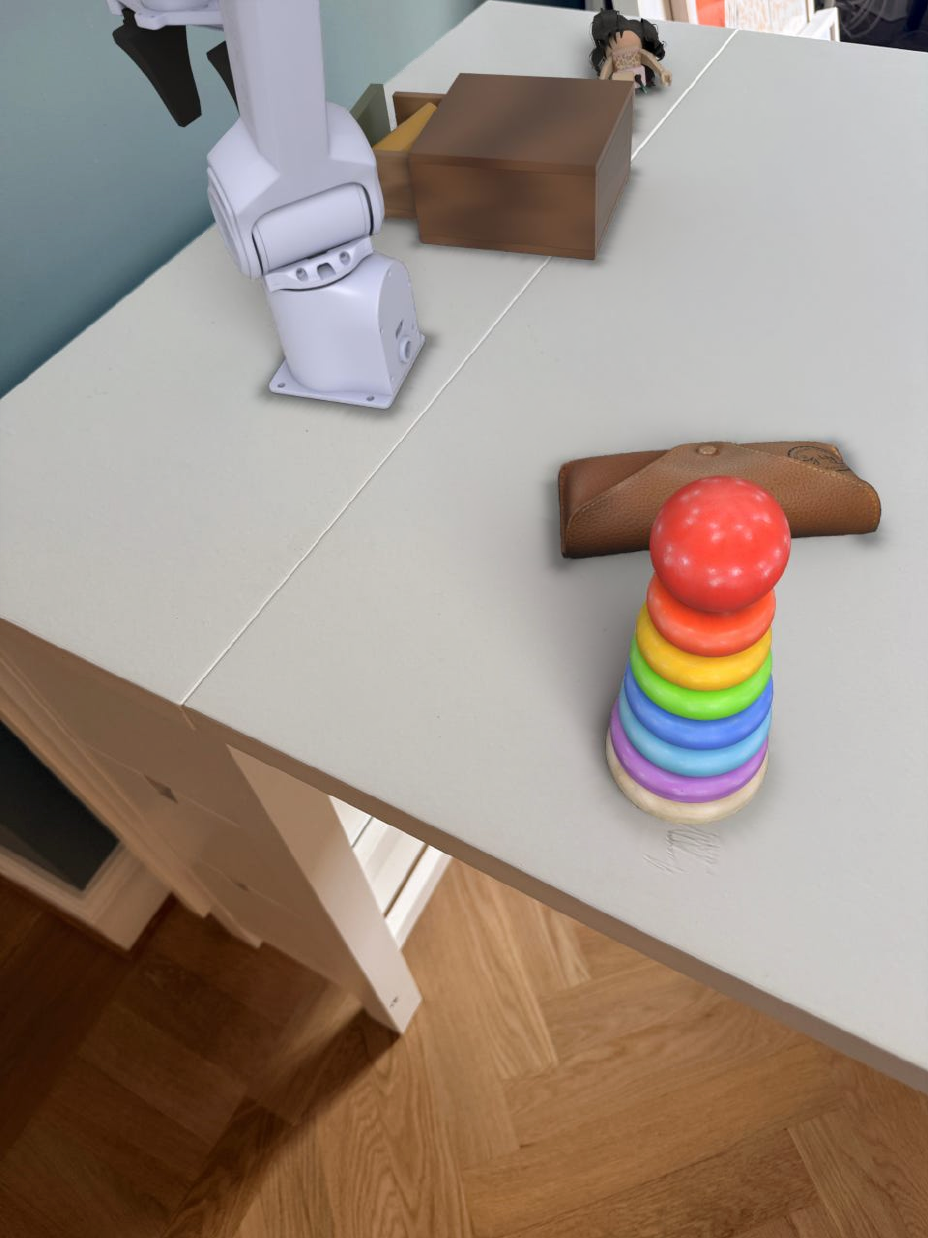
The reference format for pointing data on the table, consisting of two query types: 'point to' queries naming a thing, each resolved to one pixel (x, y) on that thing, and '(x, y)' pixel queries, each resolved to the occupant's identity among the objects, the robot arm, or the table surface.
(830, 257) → the table surface
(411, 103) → the drawer
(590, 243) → the cabinet
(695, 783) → the stacking toy
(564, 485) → the sunglasses case
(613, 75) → the toy figure
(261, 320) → the table surface
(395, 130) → the yellow cylinder
